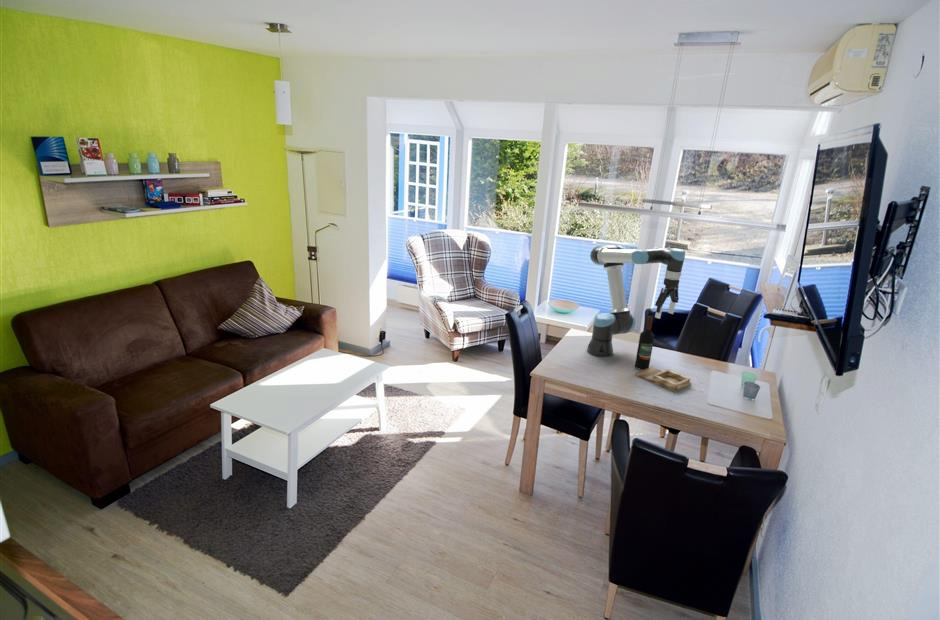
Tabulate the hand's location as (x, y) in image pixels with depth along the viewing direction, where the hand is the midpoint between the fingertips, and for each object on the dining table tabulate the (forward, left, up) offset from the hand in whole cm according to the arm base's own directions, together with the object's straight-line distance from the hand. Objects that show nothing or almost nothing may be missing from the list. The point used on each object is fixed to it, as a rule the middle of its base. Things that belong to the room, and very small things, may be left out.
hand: (664, 315), depth 274 cm
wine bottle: (-6, -3, -32) cm, 33 cm away
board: (+10, -8, -32) cm, 35 cm away
